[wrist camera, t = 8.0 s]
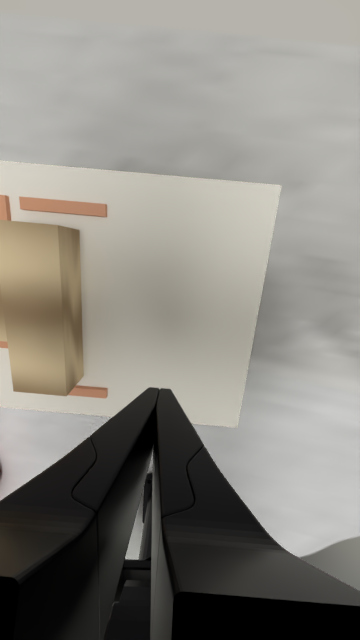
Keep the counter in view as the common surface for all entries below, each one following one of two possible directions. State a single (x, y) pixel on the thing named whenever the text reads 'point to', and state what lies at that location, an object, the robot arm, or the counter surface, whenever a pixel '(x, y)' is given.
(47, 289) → the t block
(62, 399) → the board
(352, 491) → the counter surface
